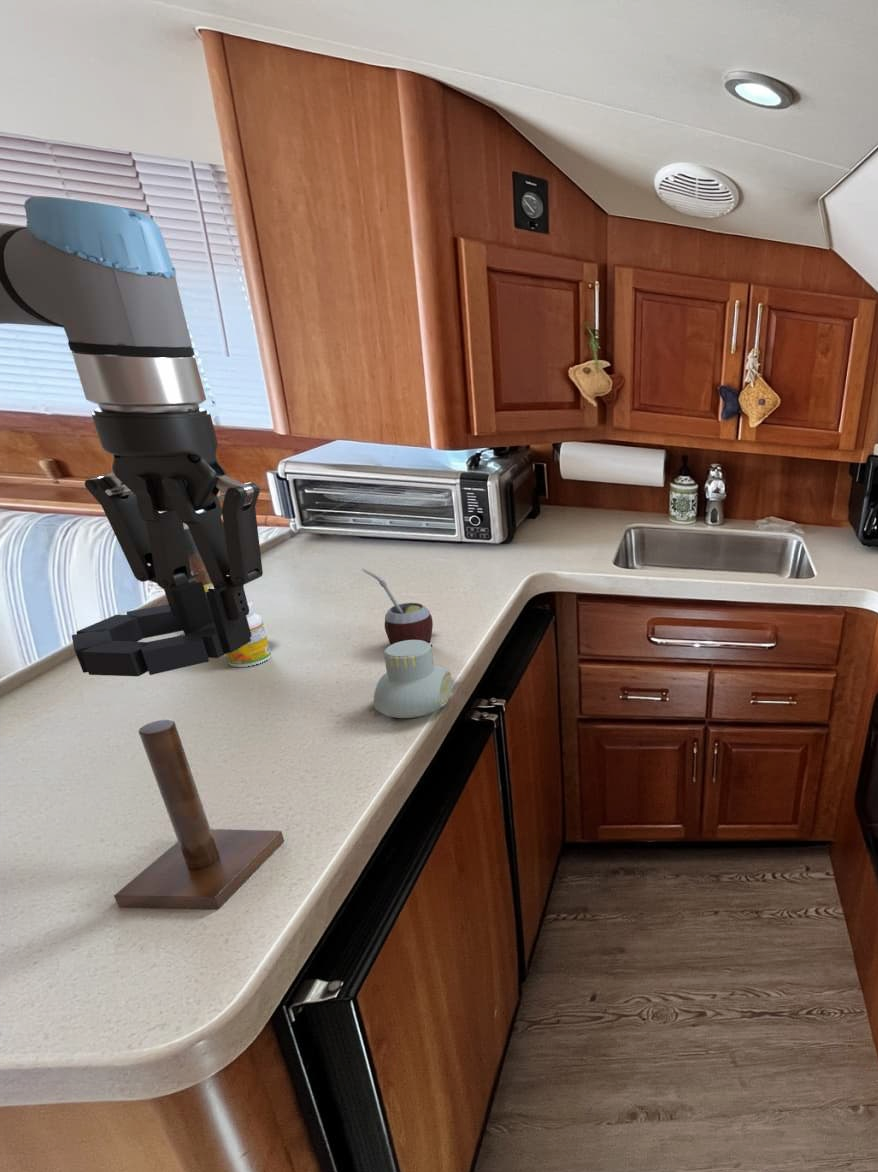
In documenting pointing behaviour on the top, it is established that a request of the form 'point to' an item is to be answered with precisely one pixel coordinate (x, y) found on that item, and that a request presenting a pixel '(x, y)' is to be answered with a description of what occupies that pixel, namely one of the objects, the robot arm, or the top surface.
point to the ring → (143, 644)
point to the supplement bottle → (252, 644)
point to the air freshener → (411, 681)
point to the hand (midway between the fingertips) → (221, 645)
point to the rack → (192, 839)
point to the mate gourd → (406, 619)
